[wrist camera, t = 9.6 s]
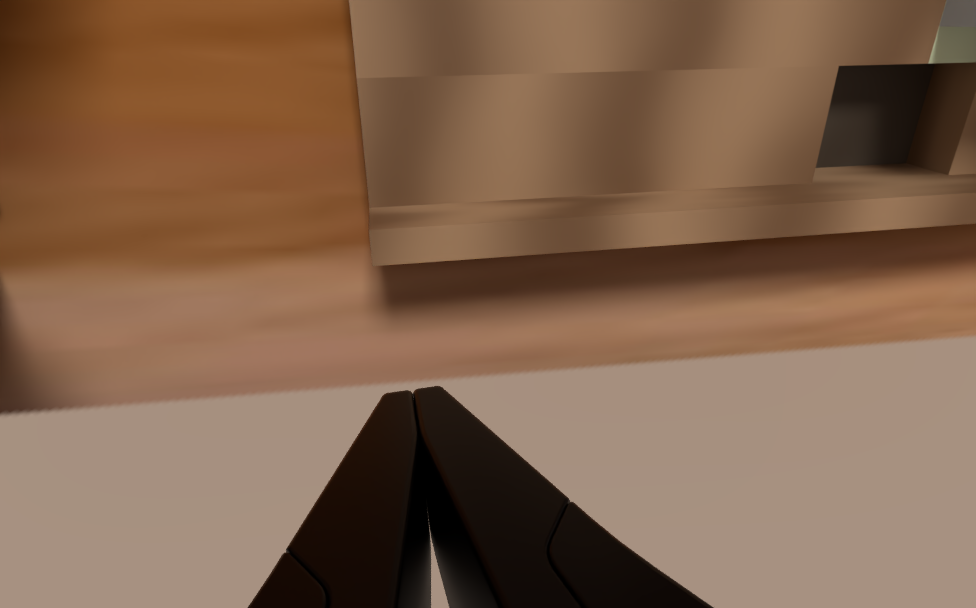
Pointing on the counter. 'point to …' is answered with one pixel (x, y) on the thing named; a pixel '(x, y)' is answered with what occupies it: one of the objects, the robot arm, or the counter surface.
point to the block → (959, 13)
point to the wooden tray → (657, 122)
